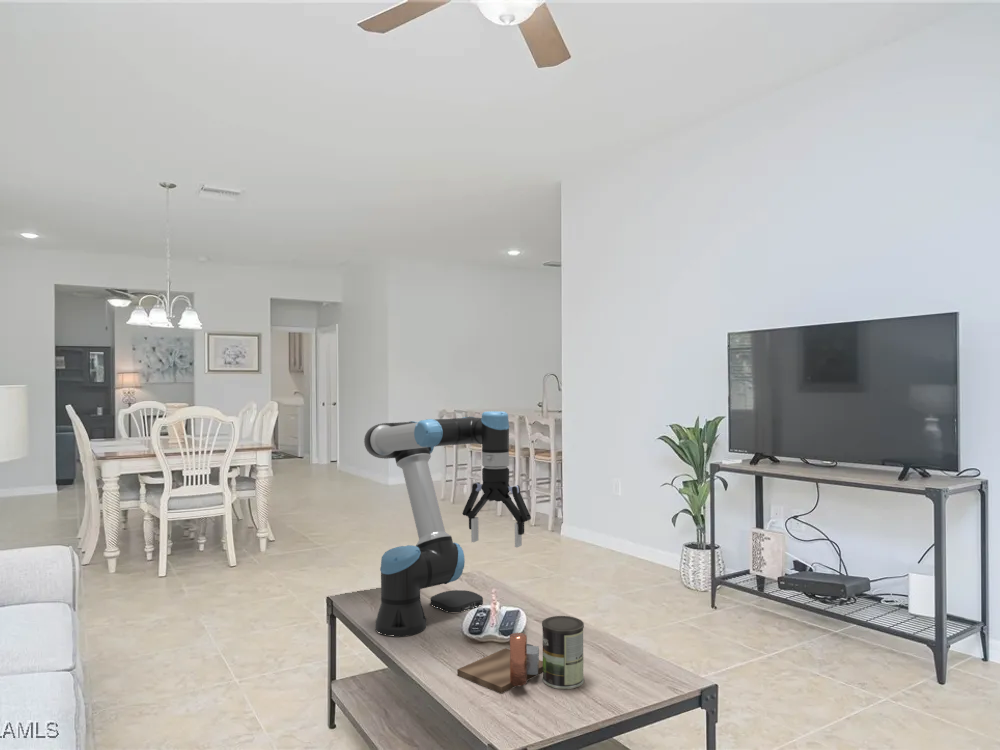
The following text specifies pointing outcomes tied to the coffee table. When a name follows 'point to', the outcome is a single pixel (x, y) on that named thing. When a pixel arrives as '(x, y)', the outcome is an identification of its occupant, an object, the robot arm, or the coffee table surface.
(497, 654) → the board
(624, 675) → the coffee table surface
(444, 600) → the media streaming box
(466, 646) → the coffee table surface
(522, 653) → the lever
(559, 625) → the coffee can
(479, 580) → the coffee table surface
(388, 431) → the robot arm
